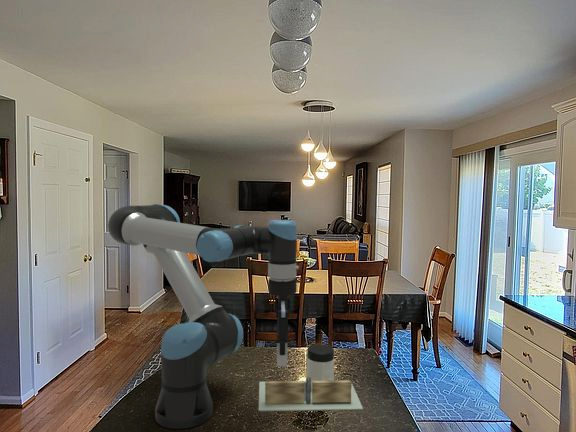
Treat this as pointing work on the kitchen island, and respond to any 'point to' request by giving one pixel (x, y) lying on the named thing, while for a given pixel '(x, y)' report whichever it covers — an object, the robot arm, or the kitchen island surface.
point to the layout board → (312, 406)
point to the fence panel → (284, 391)
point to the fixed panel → (331, 391)
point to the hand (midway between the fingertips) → (282, 364)
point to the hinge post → (308, 390)
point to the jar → (320, 363)
